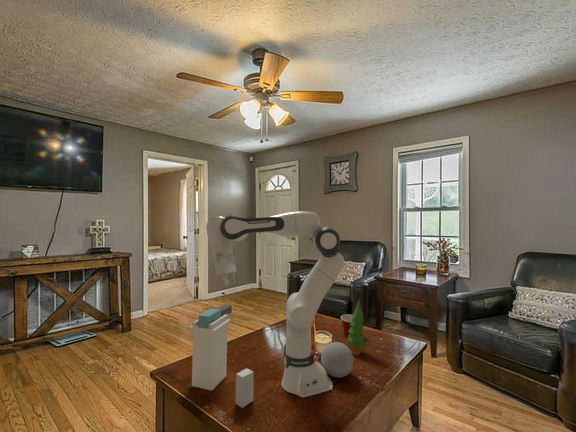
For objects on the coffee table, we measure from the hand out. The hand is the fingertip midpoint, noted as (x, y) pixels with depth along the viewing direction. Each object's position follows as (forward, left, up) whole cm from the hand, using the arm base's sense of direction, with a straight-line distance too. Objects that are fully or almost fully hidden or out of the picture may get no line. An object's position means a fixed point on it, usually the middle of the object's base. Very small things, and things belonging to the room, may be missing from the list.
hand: (230, 284), depth 127 cm
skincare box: (-6, +12, -45) cm, 47 cm away
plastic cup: (-75, -41, -45) cm, 97 cm away
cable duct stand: (+8, -6, -44) cm, 46 cm away
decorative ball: (-50, 0, -45) cm, 67 cm away
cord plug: (+6, -10, -18) cm, 22 cm away
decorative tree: (-69, -20, -45) cm, 85 cm away
